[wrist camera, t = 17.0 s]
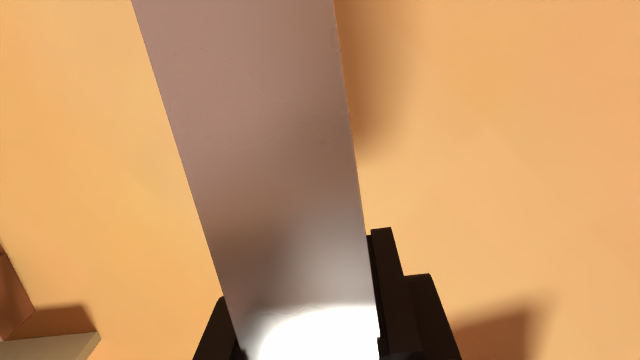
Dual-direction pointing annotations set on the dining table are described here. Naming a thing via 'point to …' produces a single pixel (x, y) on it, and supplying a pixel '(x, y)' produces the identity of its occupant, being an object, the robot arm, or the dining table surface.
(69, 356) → the grey u-shaped bracket
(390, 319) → the robot arm
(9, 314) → the small brown block
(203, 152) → the long grey plank
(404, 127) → the dining table surface
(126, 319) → the dining table surface
